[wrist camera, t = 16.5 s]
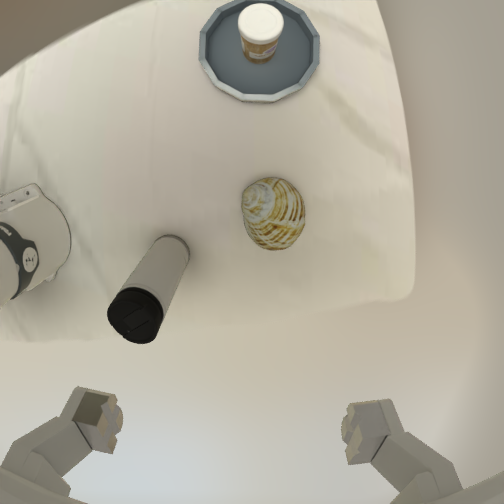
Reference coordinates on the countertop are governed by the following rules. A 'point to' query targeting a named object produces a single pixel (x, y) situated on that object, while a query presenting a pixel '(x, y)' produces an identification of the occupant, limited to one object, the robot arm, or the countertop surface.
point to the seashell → (273, 213)
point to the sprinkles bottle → (260, 31)
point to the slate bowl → (259, 75)
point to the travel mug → (149, 291)
